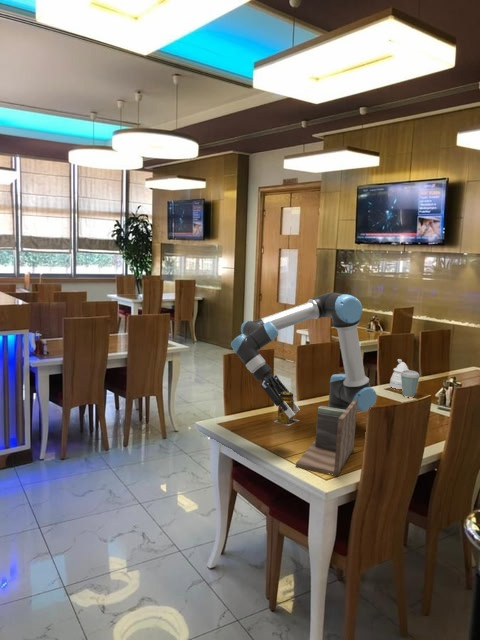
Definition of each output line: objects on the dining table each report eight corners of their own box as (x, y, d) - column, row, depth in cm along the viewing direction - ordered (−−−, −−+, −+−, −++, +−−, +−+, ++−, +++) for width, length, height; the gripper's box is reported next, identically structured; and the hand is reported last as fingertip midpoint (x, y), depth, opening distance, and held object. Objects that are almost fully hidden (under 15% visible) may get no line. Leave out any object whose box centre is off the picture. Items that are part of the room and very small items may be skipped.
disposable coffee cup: (420, 399, 286) (422, 374, 284) (401, 398, 286) (404, 373, 284) (414, 394, 297) (416, 370, 295) (396, 393, 297) (398, 369, 295)
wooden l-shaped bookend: (315, 442, 212) (319, 393, 209) (353, 450, 206) (357, 400, 203) (295, 466, 187) (299, 411, 184) (337, 476, 180) (342, 419, 177)
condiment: (273, 421, 199) (274, 392, 197) (284, 416, 206) (286, 388, 204) (288, 426, 195) (290, 396, 193) (299, 421, 201) (301, 392, 199)
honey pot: (391, 389, 306) (393, 361, 303) (388, 384, 318) (390, 357, 316) (412, 391, 304) (415, 363, 301) (409, 386, 316) (411, 358, 314)
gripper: (261, 369, 212) (295, 412, 207) (243, 378, 195) (280, 426, 190) (273, 358, 209) (308, 402, 205) (256, 367, 192) (294, 415, 187)
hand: (294, 413), depth 197 cm, fingers closed on condiment, 6 cm apart
